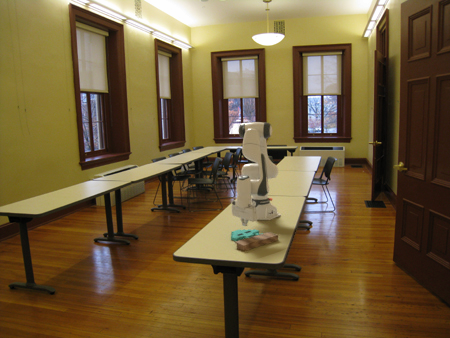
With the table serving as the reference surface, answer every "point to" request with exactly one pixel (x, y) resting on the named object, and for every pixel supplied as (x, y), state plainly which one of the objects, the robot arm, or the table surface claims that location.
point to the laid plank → (256, 241)
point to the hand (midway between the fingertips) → (244, 225)
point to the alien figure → (243, 234)
